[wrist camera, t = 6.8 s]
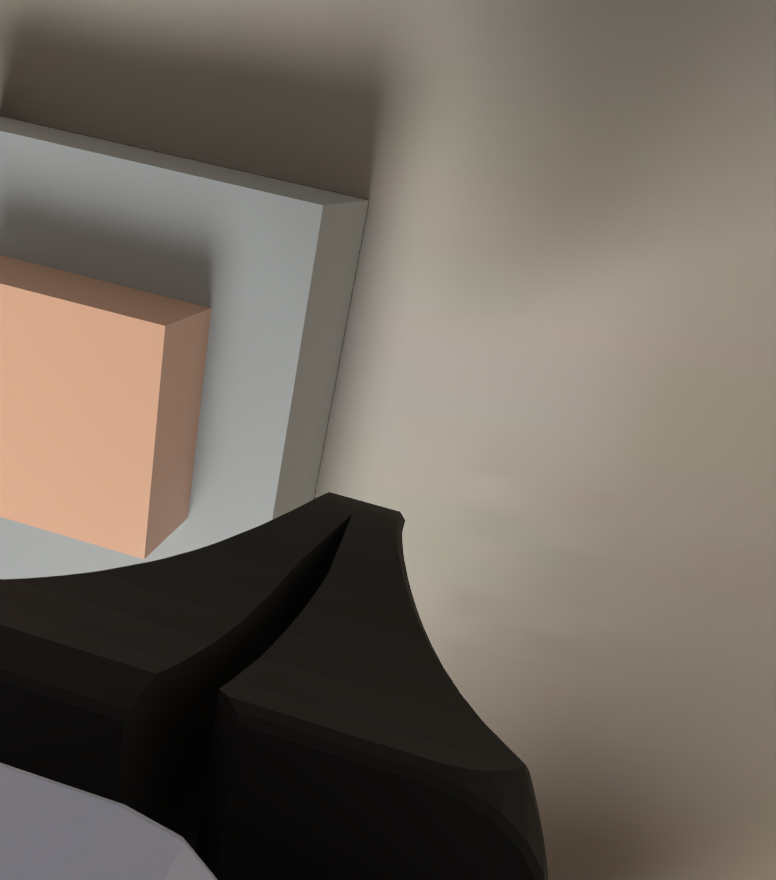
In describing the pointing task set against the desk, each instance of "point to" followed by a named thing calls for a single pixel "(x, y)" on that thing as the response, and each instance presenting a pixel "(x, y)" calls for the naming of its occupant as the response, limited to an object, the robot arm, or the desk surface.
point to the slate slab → (203, 283)
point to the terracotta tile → (97, 406)
